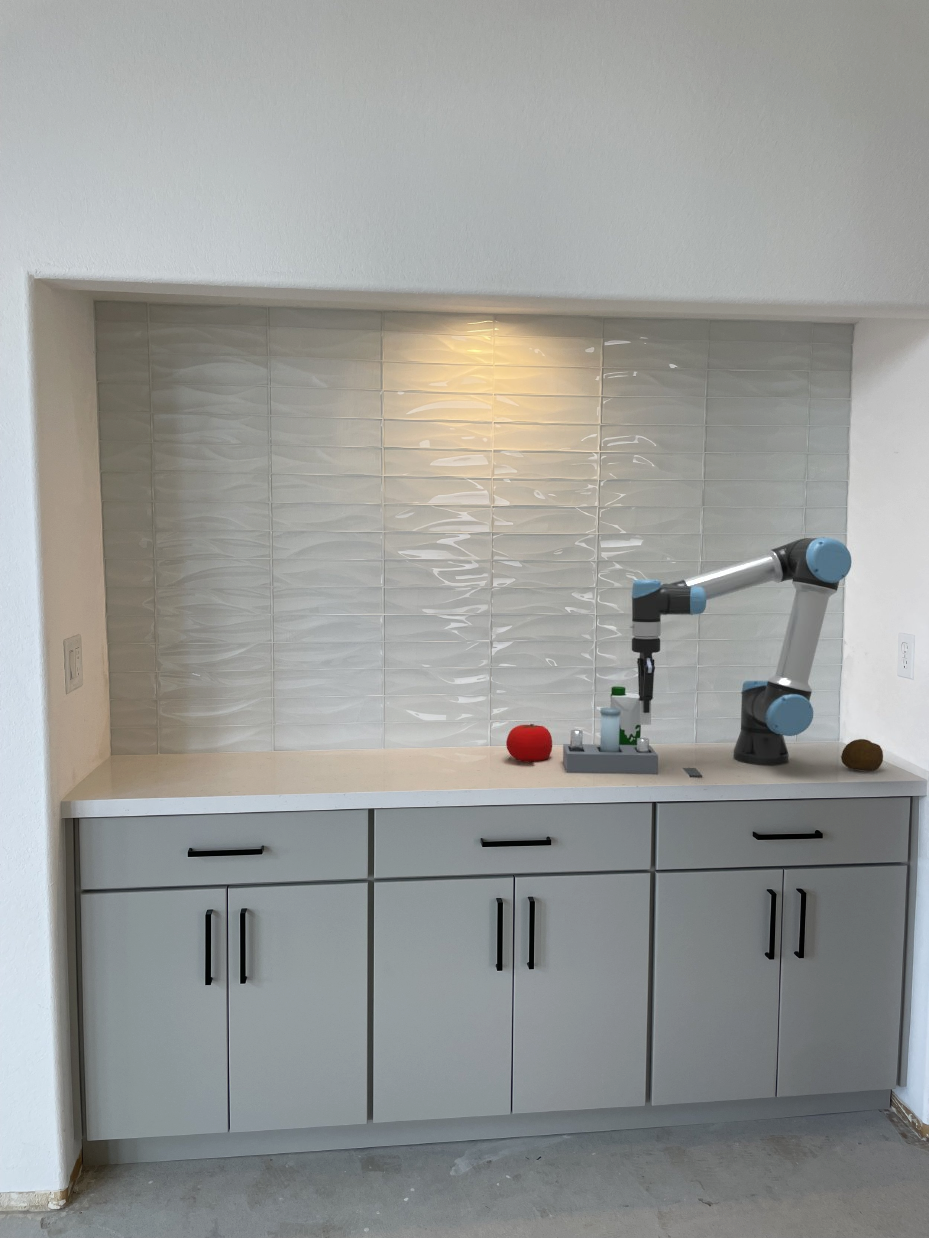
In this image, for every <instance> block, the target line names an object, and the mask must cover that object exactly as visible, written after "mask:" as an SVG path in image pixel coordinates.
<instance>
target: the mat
mask: <svg viewBox="0 0 929 1238" xmlns="http://www.w3.org/2000/svg"><path fill="white" fill-rule="evenodd" d="M682 769H683V771H684V772H685V774H687V775H688V776H689V778H699V779H701V778H703V775H702V773H701V772H700V771H699V770H698V769H697V768H696V767H682Z"/></svg>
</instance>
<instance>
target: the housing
mask: <svg viewBox="0 0 929 1238" xmlns="http://www.w3.org/2000/svg"><path fill="white" fill-rule="evenodd" d="M562 745H563V746H562V747H563V748H562V763H563V767H564V768H565V772H566V773H568V774H573V773H574V774H619V775H620V774H622V775H658V773H659V771H658V769H659V755H658V753H657V752H656V751H655V750H654V748H653V747H652V746H651V745H650V744H649V753H637V745H619V752H600V744H590V743H587V744H585V743H584V744H583V743H582V752H571V751H570V743H563V744H562Z"/></svg>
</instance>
